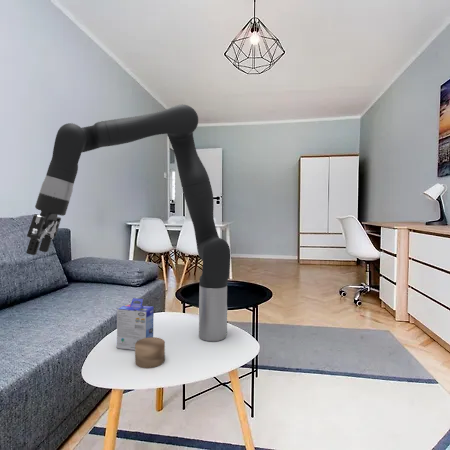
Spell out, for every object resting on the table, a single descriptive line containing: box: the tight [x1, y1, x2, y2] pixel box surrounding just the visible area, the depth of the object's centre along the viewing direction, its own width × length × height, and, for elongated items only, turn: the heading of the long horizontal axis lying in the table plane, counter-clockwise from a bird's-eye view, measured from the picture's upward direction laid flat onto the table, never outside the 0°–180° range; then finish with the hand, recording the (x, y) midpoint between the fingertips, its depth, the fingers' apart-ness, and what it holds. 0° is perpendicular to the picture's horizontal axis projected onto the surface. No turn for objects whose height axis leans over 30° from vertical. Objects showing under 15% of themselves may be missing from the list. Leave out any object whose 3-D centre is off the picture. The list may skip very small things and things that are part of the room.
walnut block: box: [134, 336, 166, 369], centre depth 87 cm, size 8×8×5 cm
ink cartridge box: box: [116, 297, 155, 351], centre depth 96 cm, size 10×6×14 cm, turn 78°
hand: (37, 252), depth 85 cm, fingers open, 8 cm apart
